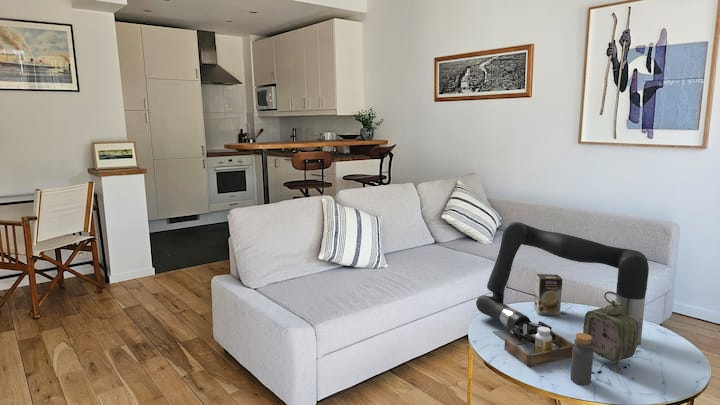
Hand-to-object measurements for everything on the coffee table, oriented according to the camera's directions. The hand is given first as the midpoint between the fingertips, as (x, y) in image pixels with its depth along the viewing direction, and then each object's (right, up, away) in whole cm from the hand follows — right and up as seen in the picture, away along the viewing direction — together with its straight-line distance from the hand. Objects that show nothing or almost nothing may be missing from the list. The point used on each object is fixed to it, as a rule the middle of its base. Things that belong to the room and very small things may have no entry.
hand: (544, 339), depth 161 cm
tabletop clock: (+20, -7, -4) cm, 21 cm away
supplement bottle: (0, -6, +2) cm, 6 cm away
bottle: (+6, -9, -14) cm, 18 cm away
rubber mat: (-5, -3, +15) cm, 17 cm away
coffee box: (+15, +1, +36) cm, 39 cm away
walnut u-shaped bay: (-1, -5, +3) cm, 7 cm away
